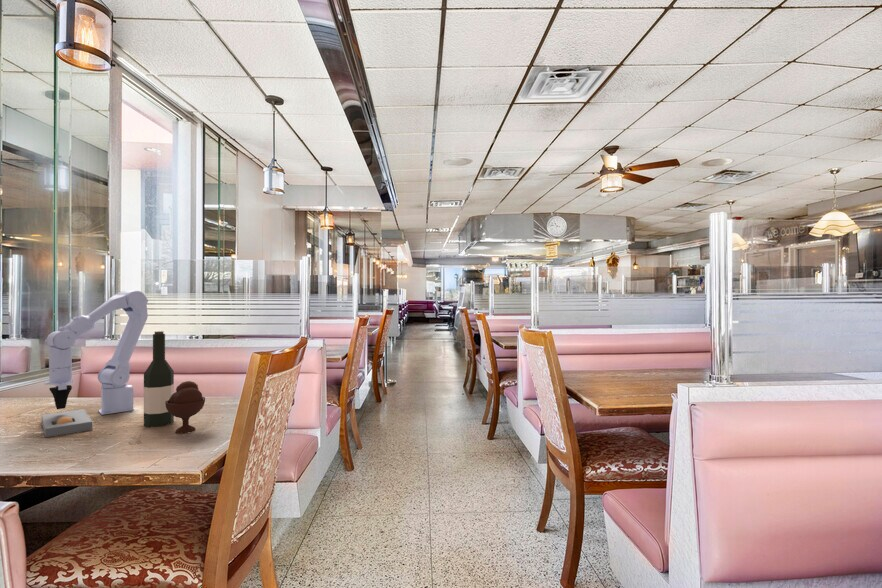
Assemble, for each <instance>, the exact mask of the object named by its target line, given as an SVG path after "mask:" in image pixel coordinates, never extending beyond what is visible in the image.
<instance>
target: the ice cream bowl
mask: <svg viewBox="0 0 882 588" xmlns="http://www.w3.org/2000/svg"><path fill="white" fill-rule="evenodd" d="M205 401H206V397H205V396H203V393H202V392H201V391H200V389H199V385H198V384H197V382H194V381H191V380H188V381H187V380H186V381H184V382H181V383H180V384H179V385H177V387H176V388H175V392H174V394H172V395H171V397H170V399H169V400H168V401H166V402H165V405H166V409H167V410H168V412H169V413H170V414H172V415H173V416H174V418H177V419H181V421H182V424H181V426H179V427H178V428H177V429H176V430H175V434H178V433H183V434H189V433H188V432H190V433H192V432H193V433H194V432H195V431H196V427H195V426H192V425H190V424H189V420H190V418H191V417H193V416H195V415H197V414H198V413H199V412H200V411H201V410H202V409H203V408H204V405H205Z"/></svg>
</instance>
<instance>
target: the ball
mask: <svg viewBox="0 0 882 588" xmlns="http://www.w3.org/2000/svg"><path fill="white" fill-rule="evenodd" d="M69 422H73V420H72V419H71V418H70V417H62V418H60V419H59V420H58V421H57V423H56V424H63V423H69Z"/></svg>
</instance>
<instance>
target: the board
mask: <svg viewBox="0 0 882 588" xmlns="http://www.w3.org/2000/svg"><path fill="white" fill-rule="evenodd" d="M62 417H70V418H71V419H72V420H73V422H69V423H63V424H56V423H57V421H58V420H59V419H60V418H62ZM41 426H42V429H43V434H44V438H50V437H56V436H61V435H62V436H63V435H68V434H74V433H80V432H87V431H92V430H93V420H92V419H91V417H90V416H89V414H88V412H87V411H86V410H85V408H82V409H75V410H74V409H73V410H67V411H61V412H53V413H47V414H46V413H45V414H41Z"/></svg>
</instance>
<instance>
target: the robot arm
mask: <svg viewBox="0 0 882 588" xmlns="http://www.w3.org/2000/svg"><path fill="white" fill-rule="evenodd" d="M148 303H149V300H148V297H147V296H146V295H145V293H143V292H142V291H140V290H122V291H121V290H120V291H118V293H117V294H114V295H112V296H111V297H109V299H107V300H105V302H104V303H102V304H100V306H98V307H97V308H95V309H94V310H92V311H91V312H90V313H88V314H87V315H79V316H74V317H73V318H72V320H71V321H70V322H68V323H66V325H64V326H59V327H58V329H59V330H56V331H52V332H51V333H49V334H48V335H47V337H46V339H45V340H44V343H45V345H46V346H47V347H48V378H49V379H48V380H49V381H45V382H44V386H55V387H49V391H50V393H51V394H52V397H53V400H54V405H55V408H56V410H61V409H62V410H63V409H66V406H67V402H68V398H69V395H70V393H71V391H72V389H73V385H71V384H72V383H73V371H72V369H73V368H72V367H73V365H72V362H73V361H72V356H73V355H72V347H73V346H74V345H75V343H76V341H77V340H79V339H80V338H81V337H83V336H84V335H85V334H87V333H89V332H90V331H91V330H93V329H94V327H95V323H97V322H98V321H99V320H101V319H103V318H104V317H106V316H107V315H109V314H111V313H112V312H114V311H115V310H121V309H122V311H124V312H125V314H126V315H127V317H128V321H127V323H126V325H125V327H124V329H123V331H122V334H121V337H120V339H119V341H118V344H117V346H116V347H115V350H114V353H113V355H112V358H111V359H109V360H108V361H107V362H106V363H105V364H104V366H103V368H102V369H101V370H100V371H99V372H98V374H97V380H98V382H99V383H100V384H101V386H100V388H101V389H100V390H101V391H100V393H101V395H100V396H101V397H100V400H101V401H100V409H98V412H99V413H100V415H101V416H104V415H109V414H116V413H117V414H118V413H123V412H124V413H125V412H129V411H130V412H131V411H134V410H135V409H134V387H133V384H127V383H128V382H129V380H130V372H131V369H132V367H131V365H130V361H131V357H132V355H133V352H134V350H135V348H136V346H137V343H138V341H139V339H140V336H141V335H142V332H143V329H144V327H145V325H146V322H147V320H148V317H149V316H148V315H149V314H148V306H147V304H148Z"/></svg>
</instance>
